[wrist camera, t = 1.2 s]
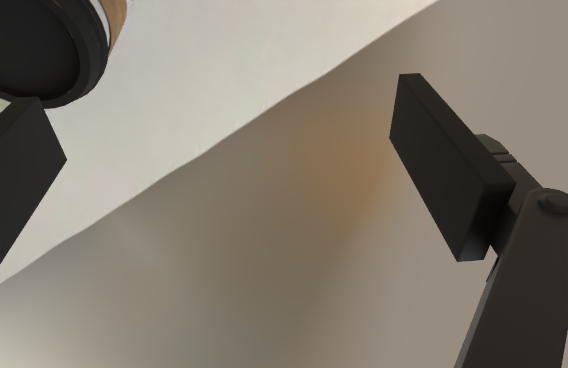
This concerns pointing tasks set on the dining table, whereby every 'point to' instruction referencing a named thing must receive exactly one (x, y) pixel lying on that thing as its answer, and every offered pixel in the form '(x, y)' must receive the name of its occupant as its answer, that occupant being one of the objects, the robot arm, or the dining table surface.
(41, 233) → the dining table surface
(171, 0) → the dining table surface
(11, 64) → the coffee cup
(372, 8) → the dining table surface
